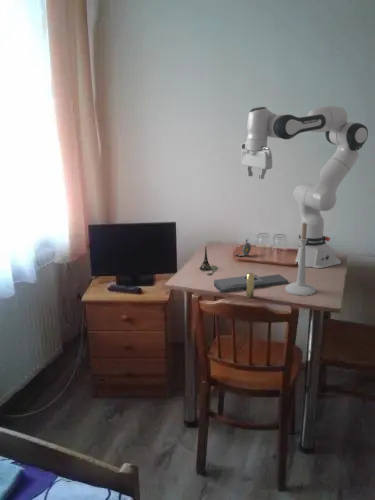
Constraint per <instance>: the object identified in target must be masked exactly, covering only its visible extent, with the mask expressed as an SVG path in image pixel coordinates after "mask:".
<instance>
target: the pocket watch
mask: <svg viewBox="0 0 375 500" xmlns="http://www.w3.org/2000/svg"><path fill="white" fill-rule="evenodd" d="M248 241H249V238H246V239H245V243H244V244H243V246H242V252H243V254H244V255H238V256H237V257H240V256H242V257H246V256H248V255H249V254H250V252H251V249H252V248H251V247H252V246H251V244H250V243H249V242H248ZM245 255H246V256H245ZM234 256H236V254H235V253H234Z"/></svg>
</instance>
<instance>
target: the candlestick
mask: <svg viewBox="0 0 375 500" xmlns="http://www.w3.org/2000/svg"><path fill="white" fill-rule="evenodd" d="M306 232H307V223H305V222H304V223H302V233H301V238H299V237H298V240H299V239H300V243H301V247H300V248H301V249H300V258H299V264H298V268H297V277H296V281H295V282H291V283H289V284H288V283H287V285H286V286H285V287H284V288H285V289H284V291H286V293H288V294H291V295H292V294H294V295H293V296H297V295H302V296H301V297H306V296H305V295H310V296H313V295H315V294H316V293H317V288H316V287H315V286H314V285H312V284H310V283H307V282H306V266H305V248H306V247H305V245H306V243H307V240H308V239H307V238H306ZM315 292H316V293H315ZM314 293H315V294H314ZM312 294H313V295H312Z"/></svg>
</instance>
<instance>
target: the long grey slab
mask: <svg viewBox="0 0 375 500" xmlns="http://www.w3.org/2000/svg"><path fill="white" fill-rule="evenodd" d="M213 282H214V283H213V285H214V287H215V288H216V290H218V291H219V293H227V292H233V291H240V290H241V291H242V290H246V287H247V275H243V276H235V277H227V278H226V277H225V278H218V279H214V280H213ZM284 284H288V279H287V278H285V277H284V276H282V275H281V274H272V275H271V274H270V275H263V276H258V275H257V274H254V289H255V288H263V287H264V288H265V287H270V286H278V285H284Z"/></svg>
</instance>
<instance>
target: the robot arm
mask: <svg viewBox="0 0 375 500" xmlns="http://www.w3.org/2000/svg"><path fill="white" fill-rule="evenodd" d="M247 116H248V117H247V123H246V124H247V125H246V126H247V128H246V129H247V137H246V141H245V142H244V143H241V145H240V148H241V149H240V150H241V152H240V162H241V165H242V166H246V167H245V169H246V172H247V177H253V176H254V175H253V173H254V172H252V168H254V169H255V168H256V169H260V174H259V175H258V178H259V180H265V176H266V173H267V170H271V169H272V168H273V154H272V151H271V149H270V147H268V137H269V138H276V139H283V140H290V139H293V138H295V137H296V136H297V135H299V134H301V133H306V132H310V133H324V132H325V133H324V134H325V139H326V140H327V142H328V143H330V144H332V145H337V148H336V150H335V152H334V153H333V155H331V157H330V158H329V159H328V161H326V163H325V164H324V165H323V166H322V168H321V169H320V171H319V176H320V178H319V181H318V182H317V183H316V185H315V184H312V183H302V184H298V185H297V186H296V187H295V188H294V189H293V194H292V195H293V199H294V201H295V202H296V204H297V208H298V214H299V218H300V225H299V227H300V230H299V235H298V250H297V254H296V258H295V259H294V262H295V261H296V262H298V264H297V265H299V258H300V249H301V248H300V247H301V243H300V239H299V238H301V233H302V223H304V222H305V223H307V232H306V238H307V239H308V240H307V243H306V245H305V247H306V248H305V268H306V267H307V268H313V269H314V268H315V269H324V268H327V267H331V266H336V265H341V264H342V262H341V260H340V259H339V258H338V257H337V252H336V250H335V249H334V248H333V247H331V246H330V245H329V244H328V243H327V242H330V241H331V238H330V237H329V236H325V235H324V226H325V220H324V218H323V216H322V214H321V212H323V211H325V212H328V211H331V210H332V209H333V208H334V207H335V205H336V203H337V195H336V194H337V191H338V187H339V186H340V184H341V183H342V181H343V180H344V179H345V177H346V176H347V175H348V173H349V172H350V171H351V170H352V168H353V167H354V166H355V163H356V162H357V160H358V158H359V150H360V149H362V147H363V145H365V143H366V141H367V140H368V136H369V130H368V128H367V126H366V125H365V124H362V123H359V122H352V121H348V113H347V111H346V109H345V108H344V107H342V106H336V105H335V106H333V105H329V106H321V107H320V106H319V107H316V108H313V109H311V110H310V111H308V114H307V115H306V116H302V117H301V116H300V117H298V116H295V115H293V114H276V113H275V112H272V111H270V110H269V109H268V108H267V107H266V106H259V107H253V108H252V109H250V110H249V111H248V115H247ZM326 241H327V242H326ZM296 262H295V263H296Z"/></svg>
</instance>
